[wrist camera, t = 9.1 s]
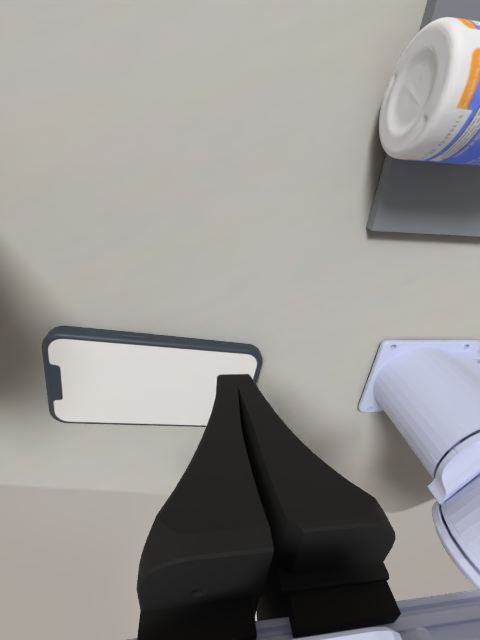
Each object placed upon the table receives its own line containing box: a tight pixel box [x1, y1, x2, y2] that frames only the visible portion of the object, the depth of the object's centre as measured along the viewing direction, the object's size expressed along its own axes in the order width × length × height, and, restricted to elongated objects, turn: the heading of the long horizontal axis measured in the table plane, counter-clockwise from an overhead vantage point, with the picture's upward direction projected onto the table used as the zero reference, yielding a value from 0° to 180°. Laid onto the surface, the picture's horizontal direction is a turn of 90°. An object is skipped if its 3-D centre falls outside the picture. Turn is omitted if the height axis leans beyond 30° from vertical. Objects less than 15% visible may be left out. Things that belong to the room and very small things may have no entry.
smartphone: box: [42, 326, 262, 427], centre depth 25 cm, size 9×2×16 cm
